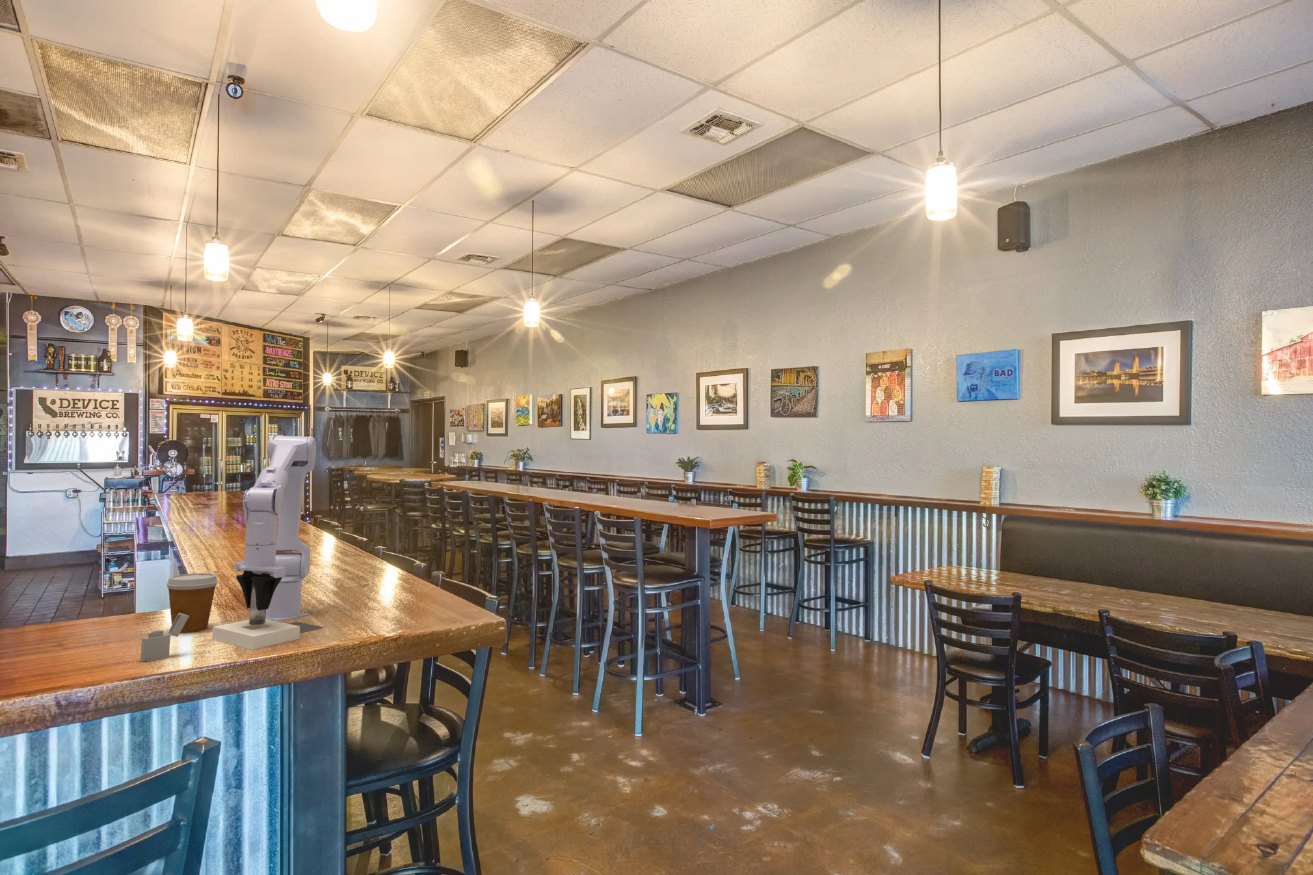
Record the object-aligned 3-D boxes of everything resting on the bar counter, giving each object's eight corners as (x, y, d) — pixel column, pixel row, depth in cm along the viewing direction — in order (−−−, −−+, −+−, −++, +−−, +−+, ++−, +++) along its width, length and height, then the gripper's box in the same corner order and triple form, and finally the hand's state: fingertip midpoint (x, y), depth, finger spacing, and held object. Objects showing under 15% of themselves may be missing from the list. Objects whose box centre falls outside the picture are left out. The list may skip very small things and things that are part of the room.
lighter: (143, 662, 126) (145, 619, 126) (140, 660, 127) (142, 617, 127) (187, 654, 132) (189, 612, 132) (183, 652, 133) (185, 611, 133)
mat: (263, 630, 151) (263, 628, 151) (296, 623, 158) (296, 621, 158) (291, 636, 146) (291, 635, 146) (324, 629, 153) (324, 627, 153)
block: (211, 641, 141) (212, 626, 141) (259, 631, 150) (259, 617, 150) (252, 651, 134) (253, 636, 134) (299, 640, 143) (299, 626, 143)
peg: (245, 623, 141) (248, 580, 142) (259, 621, 144) (262, 578, 145) (254, 625, 140) (257, 581, 141) (268, 622, 143) (271, 580, 143)
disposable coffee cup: (225, 629, 150) (228, 575, 151) (179, 639, 142) (183, 581, 142) (198, 624, 154) (201, 571, 155) (153, 633, 146) (156, 577, 146)
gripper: (221, 542, 143) (217, 607, 142) (263, 548, 136) (260, 616, 135) (254, 540, 149) (251, 601, 148) (296, 545, 142) (293, 610, 142)
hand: (257, 608), depth 142 cm, fingers closed on peg, 3 cm apart
